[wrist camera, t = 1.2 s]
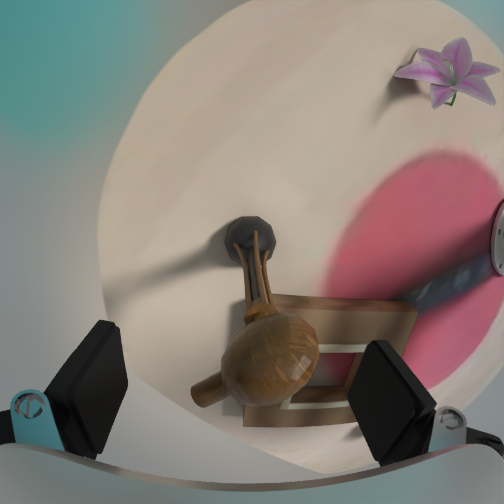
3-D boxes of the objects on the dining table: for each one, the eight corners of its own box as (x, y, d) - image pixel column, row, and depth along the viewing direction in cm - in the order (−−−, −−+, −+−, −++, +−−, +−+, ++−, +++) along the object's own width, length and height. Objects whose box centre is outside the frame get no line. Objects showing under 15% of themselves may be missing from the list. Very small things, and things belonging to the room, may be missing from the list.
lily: (446, 51, 22) (455, 7, 13) (499, 122, 20) (527, 90, 12) (380, 77, 27) (376, 31, 18) (433, 155, 25) (453, 125, 17)
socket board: (406, 301, 30) (419, 312, 27) (362, 406, 35) (369, 421, 32) (260, 292, 29) (262, 307, 25) (242, 410, 33) (243, 427, 30)
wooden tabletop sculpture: (236, 278, 28) (233, 458, 9) (207, 242, 27) (143, 395, 8) (284, 244, 27) (369, 391, 8) (256, 205, 26) (301, 299, 7)
